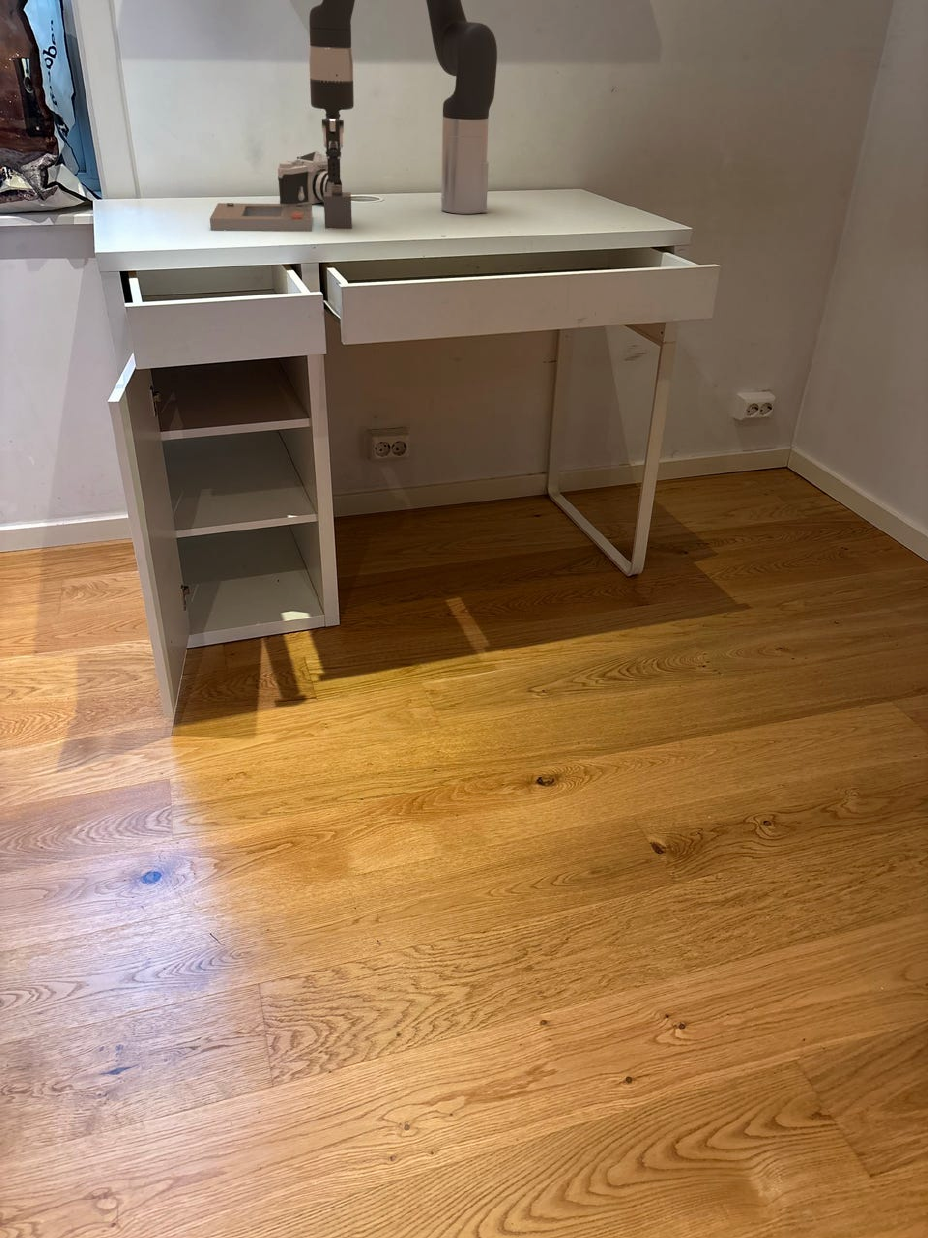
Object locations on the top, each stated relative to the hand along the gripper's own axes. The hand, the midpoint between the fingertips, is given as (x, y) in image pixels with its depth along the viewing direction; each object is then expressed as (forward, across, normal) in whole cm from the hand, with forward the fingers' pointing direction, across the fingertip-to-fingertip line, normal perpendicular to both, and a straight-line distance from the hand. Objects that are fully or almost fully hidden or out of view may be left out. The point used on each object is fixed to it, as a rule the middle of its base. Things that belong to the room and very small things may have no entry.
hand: (334, 178), depth 172 cm
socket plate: (+9, +2, +14) cm, 16 cm away
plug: (+9, 0, 0) cm, 9 cm away
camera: (+9, +25, +4) cm, 27 cm away
